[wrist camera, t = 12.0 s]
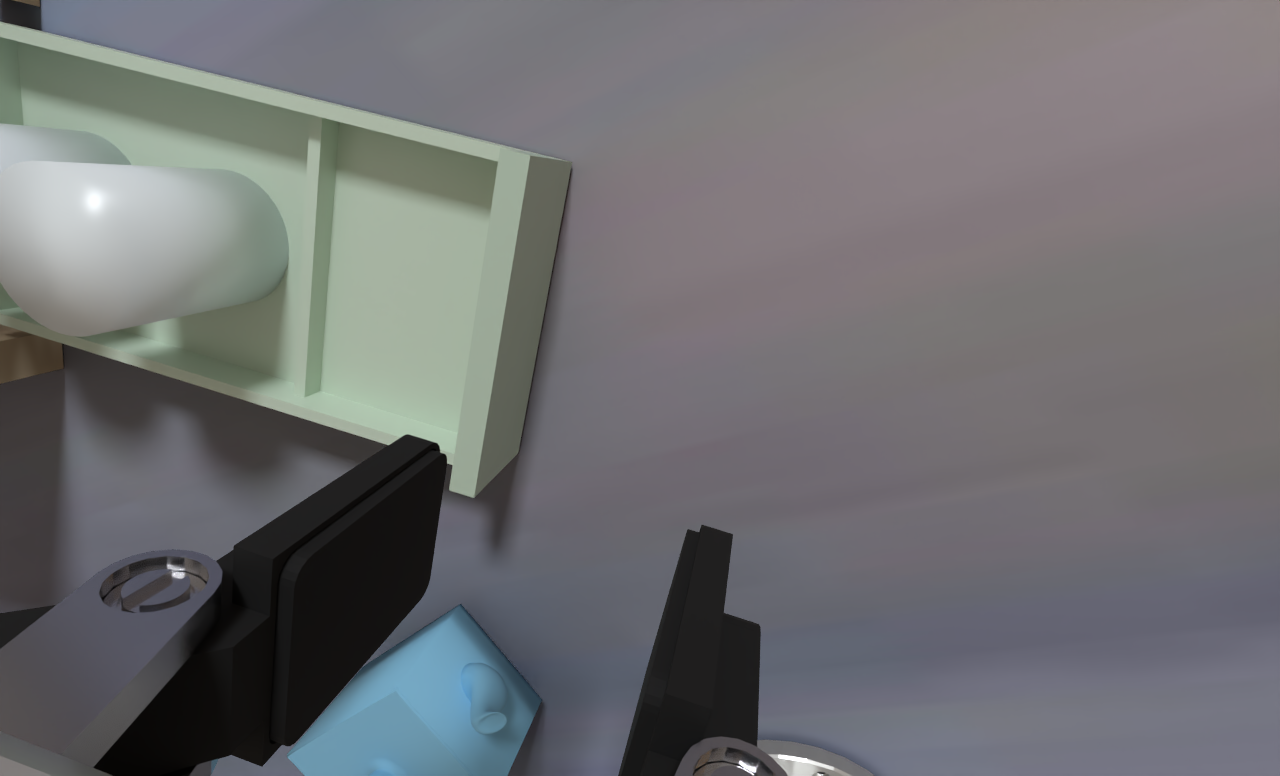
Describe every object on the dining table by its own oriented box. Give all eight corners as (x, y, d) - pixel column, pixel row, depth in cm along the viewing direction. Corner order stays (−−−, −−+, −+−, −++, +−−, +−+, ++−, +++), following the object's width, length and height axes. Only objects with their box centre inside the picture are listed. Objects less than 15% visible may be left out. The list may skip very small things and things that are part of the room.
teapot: (519, 559, 30) (440, 673, 23) (600, 657, 30) (547, 796, 23) (355, 665, 34) (244, 791, 27) (430, 750, 34) (341, 894, 27)
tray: (518, 453, 28) (473, 498, 24) (47, 309, 31) (-66, 327, 27) (572, 162, 24) (530, 155, 20) (26, 27, 27) (-109, -4, 23)
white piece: (284, 317, 27) (132, 356, 21) (172, 283, 28) (-11, 311, 21) (293, 187, 26) (130, 185, 19) (173, 154, 26) (-26, 140, 20)
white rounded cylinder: (149, 276, 28) (-42, 301, 22) (44, 245, 29) (-173, 260, 22) (146, 147, 26) (-61, 131, 20) (35, 117, 27) (-203, 92, 20)
